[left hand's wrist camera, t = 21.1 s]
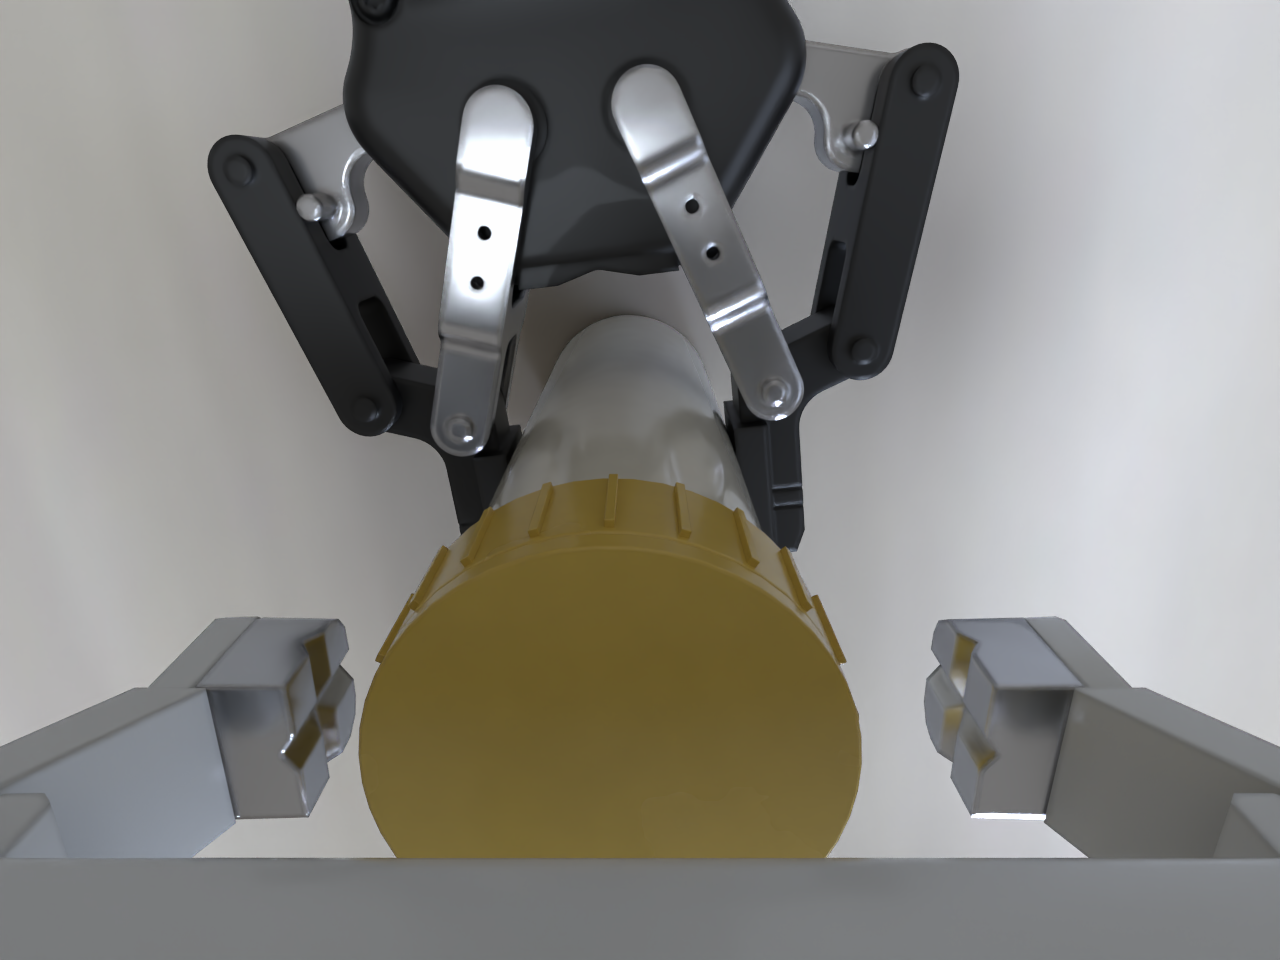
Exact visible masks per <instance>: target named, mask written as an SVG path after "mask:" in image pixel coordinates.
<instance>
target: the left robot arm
mask: <svg viewBox="0 0 1280 960" xmlns="http://www.w3.org/2000/svg"><path fill="white" fill-rule="evenodd" d="M348 650H349V646H348V641H347V635H346V630H345V626H344V625H343V624H342V623H341V621H340V620H339V619H319V618H267V617H264V618H260V617H225V618H219V619H215V620H214V621H213V622H212V623H211V624H210V625H209V626H208V627H207V628H206V629H205V630H204V631H203V632H202V633H201V634H200V635H199V636H198V637H197V638H196V639H195V640H194V641H193V642H192V643H191V644H190V645H189V646H188V647H187V648H186V649H185V650H184V651H183V653H182V654H181V655H180V656H179V657H178V658H177V659H176V660H175V661H174V662H173V663H172V664H171V665H170V666H169V667H168V668H167V669H166V670H165V671H164V672H163V673H162V674H161V675H160V676H159V677H158V678H157V679H156V680H155V681H154V682H153V683H152V684H151V685H150V686H149V687H148V688H133V689H131V690H129V691H126V692H124V693H122V694H119V695H117V696H115V697H113V698H110V699H108V700H106V701H103V702H101V703H99V704H97V705H94V706H92V707H90V708H88V709H85V710H83V711H81V712H78V713H76V714H74V715H72V716H69V717H67V718H65V719H62V720H60V721H58V722H56V723H53V724H51V725H49V726H46V727H44V728H42V729H40V730H37V731H35V732H33V733H30V734H28V735H26V736H24V737H21V738H19V739H17V740H15V741H12V742H10V743H8V744H5V745H3V746H1V747H0V960H1280V747H1279V746H1277V745H1274V744H1272V743H1270V742H1267V741H1265V740H1263V739H1261V738H1258V737H1256V736H1254V735H1252V734H1249V733H1247V732H1245V731H1242V730H1240V729H1238V728H1236V727H1233V726H1231V725H1229V724H1226V723H1224V722H1222V721H1220V720H1217V719H1215V718H1213V717H1211V716H1208V715H1206V714H1204V713H1201V712H1199V711H1197V710H1195V709H1192V708H1190V707H1188V706H1186V705H1183V704H1181V703H1179V702H1176V701H1174V700H1172V699H1170V698H1167V697H1165V696H1163V695H1161V694H1158V693H1156V692H1154V691H1151V690H1149V689H1147V688H1132V687H1131V686H1130V685H1129V684H1128V683H1127V682H1126V681H1125V680H1124V679H1123V678H1122V677H1121V676H1120V675H1119V674H1118V673H1117V672H1116V671H1115V670H1114V669H1113V668H1112V667H1111V666H1110V665H1109V664H1108V663H1107V662H1106V660H1105V659H1104V658H1103V657H1102V656H1101V655H1100V654H1099V653H1098V652H1097V651H1096V650H1095V649H1094V648H1093V647H1092V646H1091V645H1090V644H1089V643H1088V642H1087V641H1086V640H1085V639H1084V638H1083V637H1082V636H1081V635H1080V634H1079V633H1078V632H1077V631H1076V630H1075V629H1074V628H1073V627H1072V626H1071V625H1070V624H1069V623H1068V622H1067V621H1066V620H1064V619H1061V618H1059V617H1056V616H1055V617H1031V618H987V619H947V620H939V621H938V623H937V625H936V628H935V630H934V633H933V640H932V646H931V650H932V652H933V653H934V655H935V657H936V658H937V660H938V662H939V663H940V665H939V666H938V667H937V668H936V669H935V670H934V672H933V673H932V674H931V675H930V676H929V677H928V678H927V679H926V688H925V697H924V707H925V719H926V725H927V728H928V732H929V735H930V738H931V740H932V743H933V745H934V747H935V749H936V751H937V752H938V753H939V754H941V755H942V756H944V757H945V758H947V759H948V760H950V761H951V762H953V764H952V771H951V777H950V778H951V779H952V781H953V783H954V785H955V787H956V789H957V791H958V793H959V794H960V796H961V798H962V800H963V802H964V804H965V806H966V808H967V809H968V811H969V813H970V815H971V817H979V818H1016V819H1045V820H1044V823H1045V824H1047V825H1048V826H1049V827H1050V828H1052V829H1053V830H1054V831H1055V832H1057V833H1058V834H1059V835H1061V836H1062V837H1063V838H1064V839H1066V840H1067V841H1068V842H1069V843H1071V844H1072V845H1073V846H1075V847H1076V848H1077V849H1078V850H1080V851H1081V852H1082V853H1083V854H1085V855H1086V856H1087V857H1088V858H192V857H193V856H194V855H196V854H197V853H198V852H199V851H201V850H202V849H203V848H204V847H206V846H207V845H208V844H210V843H211V842H212V841H213V840H215V839H216V838H217V837H218V836H220V835H221V834H222V833H224V832H225V831H226V830H227V829H229V828H230V827H231V826H232V825H234V824H235V823H236V821H235V819H263V818H299V817H309V815H310V813H311V811H312V810H313V808H314V806H315V804H316V802H317V800H318V798H319V796H320V794H321V793H322V791H323V789H324V787H325V785H326V783H327V781H328V779H329V771H328V764H327V762H329V761H330V760H332V759H333V758H335V757H336V756H338V755H339V754H341V753H342V752H343V751H344V748H345V746H346V744H347V742H348V740H349V738H350V736H351V732H352V727H353V723H354V718H355V711H356V694H355V686H354V679H353V678H352V677H351V676H350V675H349V674H348V673H347V672H346V670H345V669H344V668H343V667H342V666H341V665H340V663H341V662H342V660H343V658H344V657H345V655H346V653H347V652H348Z"/></svg>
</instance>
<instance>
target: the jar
mask: <svg viewBox="0 0 1280 960" xmlns="http://www.w3.org/2000/svg"><path fill="white" fill-rule="evenodd" d="M609 474H618V479H637V480H644V481H651V482H658V483H664V484H667V485H671V486H675V484H676V482H678V483H682V484H685V489H686V490H689V491H692V492H695V493H697V494H700V495H702V496H704V497H707V498H709V499H712V500H714V501H716V502H719V503H720V504H722V505H724V506H726V507H727V508H729V509H731V510H733V511H734V510H735V509H736V508H737V507H738V508H739V509H741V510H743V511H744V513H745V516H746V519H747V520H748V521H749V522H751V523H752V524H753V525H755V526H756V527H757V528H759V529H760V530H761V531H762V529H761V526H760V523H759V520H758V518H757V515H756V512H755V509H754V506H753V503H752V501H751V498H750V495H749V492H748V489H747V486H746V483H745V481H744V478H743V475H742V472H741V469H740V466H739V464H738V461H737V458H736V455H735V452H734V449H733V446H732V444H731V441H730V438H729V435H728V432H727V429H726V427H725V424H724V421H723V418H722V415H721V412H720V409H719V407H718V404H717V401H716V398H715V395H714V392H713V390H712V387H711V384H710V381H709V378H708V375H707V372H706V370H705V367H704V365H703V362H702V360H701V358H700V356H699V354H698V353H697V351H696V349H695V348H694V347H693V346H692V344H691V343H690V342H689V341H688V340H687V339H686V338H685V337H684V336H683V335H682V334H681V333H679V332H678V331H677V330H675V329H674V328H673V327H671V326H669V325H667V324H665V323H663V322H661V321H658V320H656V319H653V318H649V317H645V316H637V315H621V316H615V317H610V318H606V319H603V320H600V321H598V322H596V323H593V324H591V325H590V326H588V327H586V328H585V329H583V330H582V331H581V332H579V333H578V334H577V335H576V336H575V337H574V338H573V339H572V340H571V341H570V342H569V343H568V344H567V345H566V347H565V348H564V350H563V351H562V353H561V354H560V356H559V358H558V360H557V362H556V364H555V366H554V368H553V371H552V373H551V375H550V377H549V379H548V381H547V383H546V385H545V388H544V390H543V392H542V394H541V396H540V398H539V400H538V402H537V404H536V407H535V409H534V411H533V413H532V415H531V417H530V419H529V421H528V424H527V426H526V428H525V430H524V432H523V434H522V436H521V438H520V440H519V443H518V445H517V447H516V449H515V451H514V453H513V455H512V457H511V460H510V462H509V464H508V466H507V468H506V470H505V472H504V474H503V477H502V479H501V481H500V483H499V485H498V487H497V489H496V491H495V493H494V496H493V498H492V500H491V502H490V504H489V506H488V508H489V507H492V509H493V510H496V509H498V508H500V507H501V506H503V505H505V504H507V503H509V502H511V501H513V500H515V499H517V498H519V497H522V496H524V495H527V494H530V493H533V492H535V491H538V490H541V488H542V485H543V484H544V483H548V482H551V483H552V485H553V486H556V485H560V484H564V483H569V482H573V481H582V480H592V479H602V478H609Z"/></svg>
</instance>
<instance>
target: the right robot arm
mask: <svg viewBox="0 0 1280 960" xmlns="http://www.w3.org/2000/svg"><path fill="white" fill-rule="evenodd" d="M349 4H350V8H351V14H352V23H353V40H352V50H351V56H350V62H349V65H348V69H347V72H346V76H345V80H344V86H343V104H342V105H340V106H338V107H335V108H333V109H331V110H329V111H327V112H324V113H322V114H320V115H318V116H316V117H313V118H311V119H309V120H307V121H305V122H302V123H300V124H298V125H296V126H294V127H291V128H289V129H287V130H285V131H282V132H280V133H278V134H276V135H274V136H271V137H269V138H260V137H252V136H243V135H229V136H225V137H223V138H221V139H220V140H218V141H217V142H216V143H215V144H214V145H213V147H212V148H211V150H210V153H209V156H208V173H209V176H210V179H211V181H212V183H213V185H214V187H215V189H216V191H217V193H218V195H219V196H220V198H221V200H222V202H223V204H224V206H225V207H226V209H227V211H228V213H229V215H230V217H231V219H232V220H233V222H234V224H235V226H236V228H237V230H238V232H239V233H240V235H241V237H242V239H243V241H244V243H245V244H246V246H247V248H248V250H249V252H250V254H251V256H252V257H253V259H254V261H255V263H256V265H257V267H258V268H259V270H260V272H261V274H262V276H263V278H264V280H265V281H266V283H267V285H268V287H269V289H270V291H271V292H272V294H273V296H274V298H275V300H276V302H277V304H278V305H279V307H280V309H281V311H282V313H283V315H284V316H285V318H286V320H287V322H288V324H289V326H290V328H291V329H292V331H293V333H294V335H295V337H296V339H297V340H298V342H299V344H300V346H301V348H302V350H303V352H304V353H305V355H306V357H307V359H308V361H309V363H310V364H311V366H312V368H313V370H314V372H315V374H316V376H317V377H318V379H319V381H320V383H321V385H322V387H323V389H324V390H325V392H326V394H327V396H328V398H329V400H330V401H331V403H332V405H333V407H334V409H335V411H336V413H337V414H338V416H339V418H340V420H341V421H342V423H343V424H344V425H345V426H346V427H347V428H348V429H349V430H351V431H353V432H354V433H356V434H359V435H362V436H377V435H380V434H382V433H384V432H389V433H394V434H398V435H403V436H408V437H412V438H416V439H420V440H422V441H424V442H426V443H428V444H429V445H431V446H432V447H433V448H435V449H436V450H437V452H438V453H439V454H440V455H441V457H442V458H443V460H444V462H445V465H446V469H447V473H448V478H449V482H450V487H451V491H452V496H453V500H454V505H455V510H456V514H457V519H458V523H459V525H460V533H461V535H462V534H463V533H464V532H465V531H466V530H467V529H469V528H470V527H471V526H472V525H474V524H475V523H477V522H478V521H479V520H480V518H481V516H482V513H483V511H484V510H486V509H487V508H488V506H489V504H490V502H491V500H492V498H493V496H494V493H495V491H496V489H497V487H498V485H499V483H500V481H501V479H502V477H503V474H504V472H505V470H506V468H507V466H508V464H509V462H510V460H511V457H512V455H513V453H514V451H515V449H516V447H517V445H518V443H519V440H520V438H521V436H522V432H521V426H520V425H513V426H509V423H508V417H507V412H506V409H507V406H508V401H509V395H510V389H511V383H512V377H513V371H514V365H515V359H516V353H517V347H518V341H519V336H520V332H521V328H522V325H523V322H524V318H525V313H526V308H527V303H528V297H529V291H530V289H535V288H543V287H551V286H558V285H561V284H563V283H565V282H568V281H570V280H573V279H575V278H577V277H580V276H582V275H584V274H587V273H589V272H592V271H594V270H606V271H613V272H619V273H626V274H633V275H647V274H655V273H663V272H671V271H679V265H681V266H682V268H683V270H684V272H685V275H686V277H687V279H688V281H689V283H690V285H691V288H692V290H693V292H694V294H695V296H696V298H697V300H698V303H699V305H700V307H701V309H702V311H703V313H704V315H705V318H706V320H707V322H708V324H709V326H710V328H711V331H712V333H713V335H714V337H715V339H716V341H717V344H718V346H719V348H720V350H721V352H722V354H723V356H724V359H725V361H726V363H727V365H728V367H729V369H730V372H731V384H732V396H733V400H732V401H724V412H725V423H726V429H727V432H728V435H729V438H730V441H731V444H732V446H733V449H734V452H735V455H736V458H737V461H738V464H739V466H740V469H741V472H742V475H743V478H744V481H745V483H746V486H747V489H748V492H749V495H750V498H751V501H752V503H753V506H754V509H755V512H756V515H757V518H758V520H759V523H760V526H761V529H762V531H763V532H764V533H765V534H766V535H767V536H768V537H769V538H770V539H771V540H772V541H773V542H774V543H775V544H776V545H777V546H778V547H779V548H780V549H782V548H784V547H785V546H786V547H787V548H788V549H789V551H790V552H794V551H797V549H798V546H799V544H800V541H801V538H802V536H803V533H804V530H805V527H804V509H803V491H802V473H801V455H800V437H799V422H800V417H801V414H802V411H803V409H804V408H805V406H806V405H807V403H808V402H809V401H810V400H811V399H812V398H813V397H814V396H815V395H817V394H818V393H820V392H822V391H824V390H826V389H828V388H830V387H832V386H834V385H836V384H838V383H840V382H842V381H845V380H847V379H849V378H850V379H854V380H866V379H870V378H872V377H874V376H877V375H878V374H879V373H881V372H882V371H883V370H884V369H885V368H886V367H887V365H888V364H889V362H890V360H891V358H892V355H893V351H894V347H895V343H896V339H897V335H898V331H899V327H900V323H901V318H902V314H903V310H904V306H905V302H906V298H907V294H908V290H909V285H910V281H911V277H912V273H913V269H914V265H915V261H916V257H917V253H918V248H919V244H920V240H921V236H922V232H923V228H924V224H925V220H926V216H927V211H928V207H929V203H930V199H931V195H932V191H933V187H934V183H935V178H936V174H937V170H938V166H939V162H940V158H941V154H942V150H943V146H944V141H945V137H946V133H947V129H948V125H949V121H950V117H951V113H952V109H953V104H954V100H955V96H956V92H957V88H958V83H959V70H958V65H957V62H956V60H955V58H954V56H953V55H952V54H951V52H950V51H949V50H947V49H946V48H945V47H943V46H941V45H939V44H936V43H922V44H918V45H916V46H913V47H911V48H908V49H904V50H902V51H900V52H897V53H887V52H880V51H873V50H866V49H860V48H853V47H846V46H839V45H833V44H826V43H819V42H812V41H806V40H805V36H804V32H803V29H802V26H801V24H800V21H799V19H798V17H797V16H796V14H795V12H794V11H793V9H792V8H791V6H790V4H789V3H788V1H787V0H349ZM792 101H794V102H796V103H798V104H800V105H801V106H803V107H804V108H805V109H806V110H807V111H808V113H809V114H810V116H811V118H812V120H813V124H814V129H815V137H814V146H815V151H816V154H817V156H818V159H819V160H820V161H821V163H822V164H823V165H824V166H825V167H827V168H828V169H830V170H833V171H836V172H839V177H838V182H837V187H836V191H835V196H834V201H833V206H832V211H831V216H830V221H829V226H828V231H827V236H826V241H825V246H824V251H823V255H822V260H821V265H820V270H819V275H818V280H817V285H816V290H815V295H814V300H813V305H812V310H811V315H810V316H809V317H807V318H805V319H803V320H801V321H799V322H797V323H795V324H793V325H791V326H789V327H787V328H785V329H783V330H781V329H780V327H779V324H778V322H777V320H776V318H775V315H774V313H773V311H772V308H771V306H770V303H769V300H768V296H767V293H766V290H765V287H764V284H763V282H762V280H761V277H760V275H759V273H758V270H757V268H756V266H755V263H754V261H753V259H752V256H751V254H750V252H749V249H748V247H747V245H746V242H745V240H744V238H743V236H742V233H741V231H740V229H739V226H738V224H737V222H736V219H735V217H734V215H733V212H732V208H733V206H734V204H735V202H736V201H737V199H738V197H739V195H740V194H741V192H742V190H743V188H744V187H745V185H746V183H747V181H748V179H749V178H750V176H751V174H752V172H753V171H754V169H755V167H756V165H757V163H758V162H759V160H760V158H761V156H762V155H763V153H764V151H765V149H766V147H767V146H768V144H769V142H770V140H771V139H772V137H773V135H774V133H775V132H776V130H777V128H778V126H779V124H780V123H781V121H782V119H783V117H784V116H785V114H786V112H787V110H788V108H789V107H790V105H791V103H792ZM372 160H374V161H375V162H376V163H377V164H378V165H379V166H380V167H381V168H382V169H383V170H384V171H385V172H386V173H387V174H388V175H389V176H390V177H391V178H392V179H393V180H394V182H395V183H396V184H397V185H398V186H399V187H400V188H401V189H402V190H403V191H404V192H405V193H406V194H407V195H408V196H409V197H410V198H411V199H412V200H413V201H414V202H415V203H416V204H417V205H418V206H419V207H420V208H421V209H422V210H423V211H424V212H425V213H426V214H427V215H428V217H429V218H430V219H431V220H432V221H433V222H434V223H435V224H436V225H437V226H438V227H439V228H440V229H441V230H442V231H443V232H444V233H445V234H446V235H447V236H448V237H449V238H450V239H449V246H448V254H447V261H446V269H445V276H444V284H443V292H442V299H441V307H440V314H439V323H438V333H439V338H440V340H441V348H440V356H439V364H438V368H434V367H429V366H425V365H421V364H420V362H419V360H418V358H417V356H416V354H415V352H414V350H413V348H412V346H411V344H410V342H409V340H408V338H407V336H406V334H405V332H404V330H403V328H402V326H401V324H400V322H399V320H398V318H397V316H396V314H395V312H394V310H393V308H392V306H391V304H390V302H389V300H388V297H387V295H386V293H385V291H384V289H383V287H382V285H381V283H380V281H379V279H378V277H377V275H376V273H375V271H374V269H373V267H372V265H371V263H370V261H369V259H368V257H367V255H366V253H365V251H364V249H363V247H362V245H361V243H360V241H359V239H358V237H357V235H356V233H357V232H359V231H360V230H361V229H362V228H363V227H364V225H365V224H366V222H367V219H368V216H369V203H368V199H367V196H366V193H365V189H364V176H365V172H366V169H367V167H368V166H369V164H370V163H371V162H372Z"/></svg>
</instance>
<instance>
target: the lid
mask: <svg viewBox="0 0 1280 960" xmlns="http://www.w3.org/2000/svg"><path fill="white" fill-rule="evenodd" d="M375 661H376V662H379V663H381V664H380V666H379V668H378V669H377V671H376V673H375V675H374V678H373V681H372V683H371V686H370V689H369V691H368V694H367V697H366V699H365V703H364V708H363V713H362V718H361V723H360V729H359V762H360V770H361V778H362V784H363V788H364V791H365V795H366V798H367V802H368V805H369V809H370V811H371V813H372V815H373V817H374V820H375V822H376V824H377V826H378V828H379V830H380V833H381V834H382V836H383V837H384V839H385V841H386V842H387V844H388V845H389V847H390V848H391V850H392V851H393V853H394V855H395V856H396V857H397V858H827V857H828V855H829V854H830V852H831V851H832V849H833V848H834V846H835V845H836V843H837V842H838V840H839V838H840V836H841V834H842V832H843V830H844V828H845V826H846V824H847V821H848V819H849V817H850V814H851V811H852V808H853V805H854V801H855V798H856V795H857V792H858V786H859V779H860V772H861V765H862V745H861V732H860V726H859V713H858V711H857V709H856V706H855V704H854V701H853V698H852V695H851V692H850V689H849V687H848V684H847V681H846V679H845V676H844V674H843V671H842V669H841V667H840V665H841V664H844V663H846V659H845V657H844V654H843V652H842V650H841V647H840V645H839V643H838V640H837V638H836V636H835V634H834V631H833V629H832V627H831V624H830V622H829V620H828V617H827V615H826V613H825V610H824V608H823V606H822V603H821V601H820V599H819V596H818V595H815V596H812V597H811V595H810V593H809V591H808V589H807V587H806V585H805V583H804V582H803V580H802V578H801V576H800V574H799V571H798V569H797V567H796V564H795V562H794V559H793V557H792V554H791V552H790V551H789V549H788V548H787V547H786V546H785V547H784V548H782V549H780V548H779V547H778V546H777V545H776V544H775V543H774V542H773V541H772V540H771V539H770V538H769V537H768V536H767V535H766V534H765V533H764V532H763V531H761V530H760V529H759V528H757V527H756V526H755V525H753V524H752V523H751V522H749V521H748V520H747V519H746V516H745V513H744V511H743V510H741V509H739V508H738V507H737V508H736V509H735V510H734V511H733V510H731V509H729V508H727V507H726V506H724V505H722V504H720V503H719V502H716V501H714V500H712V499H709V498H707V497H704V496H702V495H700V494H697V493H695V492H692V491H689V490H686V489H685V484H682V483H678V482H676V484H675V486H671V485H667V484H664V483H658V482H651V481H644V480H637V479H618V474H609V478H602V479H592V480H582V481H573V482H569V483H564V484H560V485H556V486H553V485H552V483H551V482H548V483H544V484H543V485H542V488H541V490H538V491H535V492H533V493H530V494H527V495H524V496H522V497H519V498H517V499H515V500H513V501H511V502H509V503H507V504H505V505H503V506H501V507H500V508H498V509H496V510H493V509H492V507H489V508H487V509H486V510H484V511H483V513H482V516H481V518H480V520H479V521H478V522H477V523H475V524H474V525H472V526H471V527H470V528H469V529H467V530H466V531H465V532H464V533H463V534H462V535H461V536H460V537H459V538H458V539H457V540H456V541H455V542H454V543H453V544H452V545H451V546H450V547H449V548H446V547H445V546H444V545H443V546H442V547H441V548H440V549H439V550H438V552H437V554H436V555H435V557H434V559H433V561H432V563H431V564H430V566H429V568H428V570H427V572H426V574H425V575H424V577H423V579H422V581H421V583H420V584H419V586H418V588H417V590H416V592H415V593H414V594H411V596H410V597H409V599H408V601H407V603H406V605H405V606H404V608H403V610H402V612H401V613H400V615H399V617H398V619H397V621H396V622H395V624H394V626H393V628H392V630H391V631H390V633H389V635H388V637H387V639H386V640H385V642H384V644H383V646H382V647H381V649H380V651H379V653H378V655H377V657H376V660H375Z"/></svg>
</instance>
